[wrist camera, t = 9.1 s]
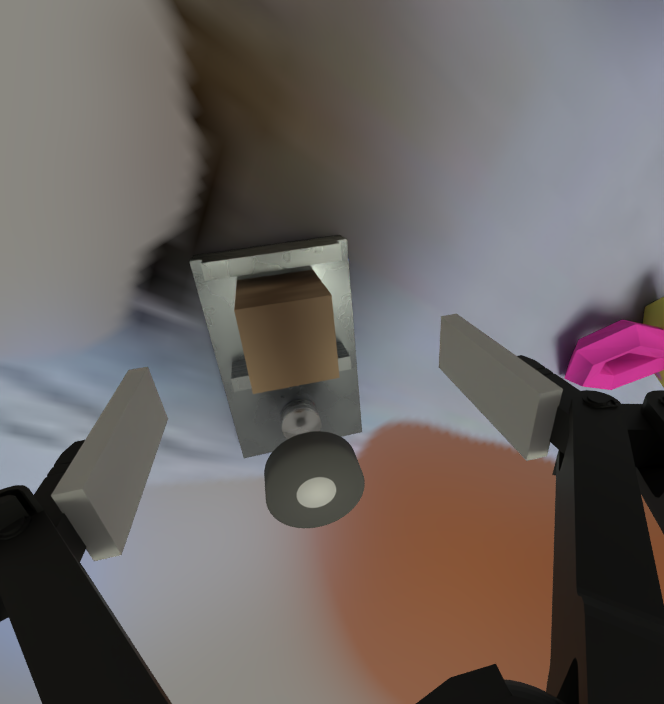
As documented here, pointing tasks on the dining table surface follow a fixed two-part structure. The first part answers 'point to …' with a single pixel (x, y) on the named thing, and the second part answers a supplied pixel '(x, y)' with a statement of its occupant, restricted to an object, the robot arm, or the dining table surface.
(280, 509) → the wheel
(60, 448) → the dining table surface
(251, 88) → the dining table surface
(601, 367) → the toy
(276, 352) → the block
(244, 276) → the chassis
